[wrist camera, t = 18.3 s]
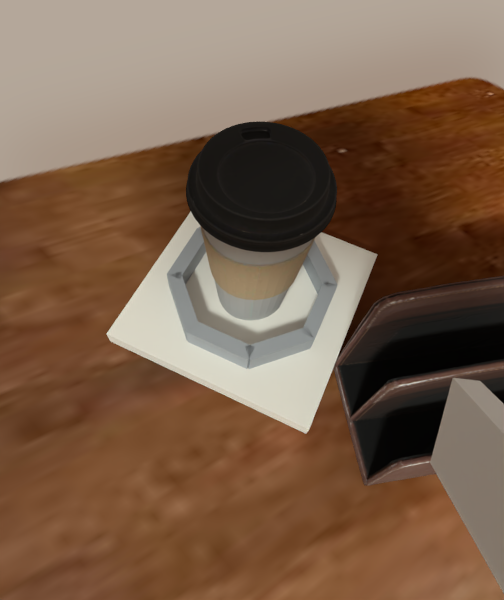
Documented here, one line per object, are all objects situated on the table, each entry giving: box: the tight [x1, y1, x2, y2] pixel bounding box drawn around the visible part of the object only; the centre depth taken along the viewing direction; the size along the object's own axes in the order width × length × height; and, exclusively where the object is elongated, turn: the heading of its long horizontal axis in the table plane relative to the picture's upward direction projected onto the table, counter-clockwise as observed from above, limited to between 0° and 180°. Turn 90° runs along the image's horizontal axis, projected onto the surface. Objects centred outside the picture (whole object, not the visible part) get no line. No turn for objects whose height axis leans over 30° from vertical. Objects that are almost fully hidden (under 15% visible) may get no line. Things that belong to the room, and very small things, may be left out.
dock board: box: [107, 212, 378, 433], centre depth 39 cm, size 18×18×4 cm
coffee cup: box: [186, 122, 337, 320], centre depth 33 cm, size 9×9×15 cm
